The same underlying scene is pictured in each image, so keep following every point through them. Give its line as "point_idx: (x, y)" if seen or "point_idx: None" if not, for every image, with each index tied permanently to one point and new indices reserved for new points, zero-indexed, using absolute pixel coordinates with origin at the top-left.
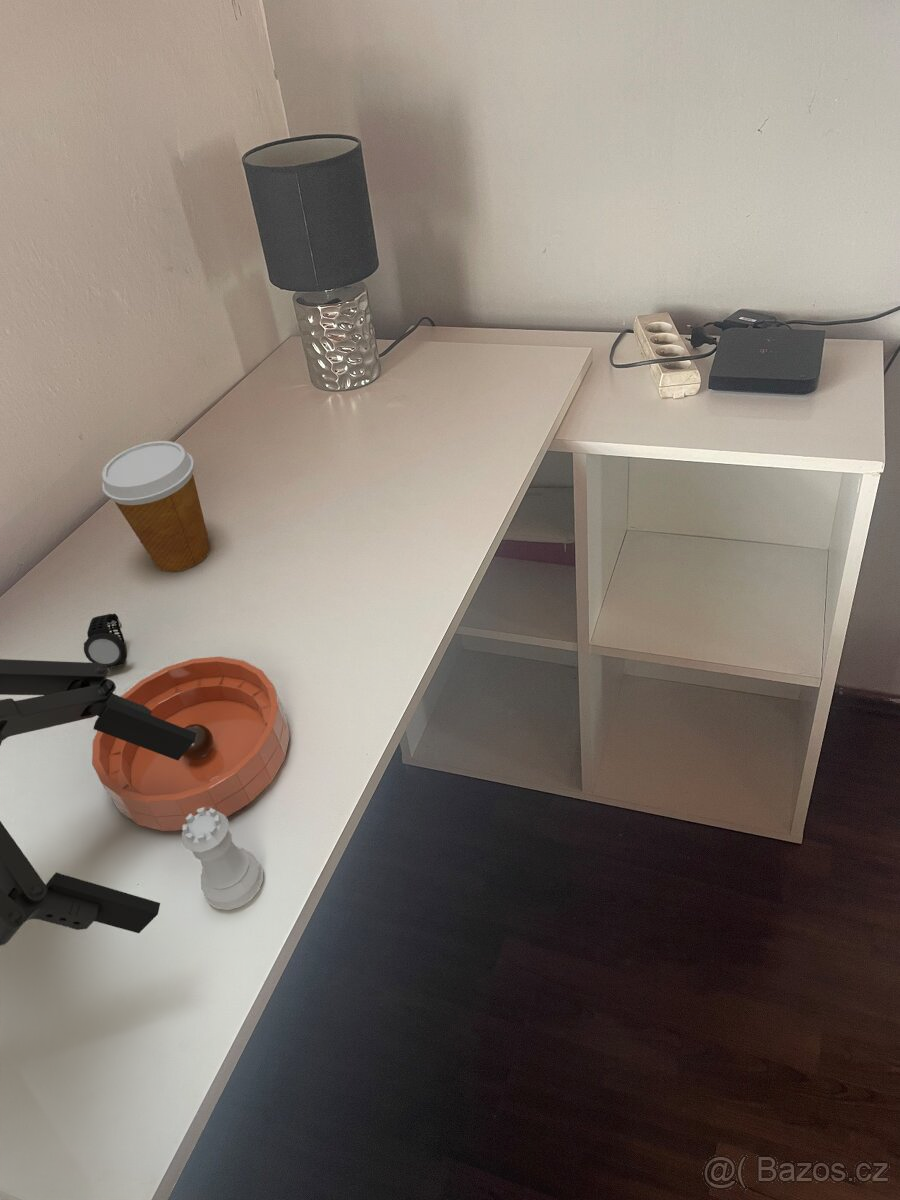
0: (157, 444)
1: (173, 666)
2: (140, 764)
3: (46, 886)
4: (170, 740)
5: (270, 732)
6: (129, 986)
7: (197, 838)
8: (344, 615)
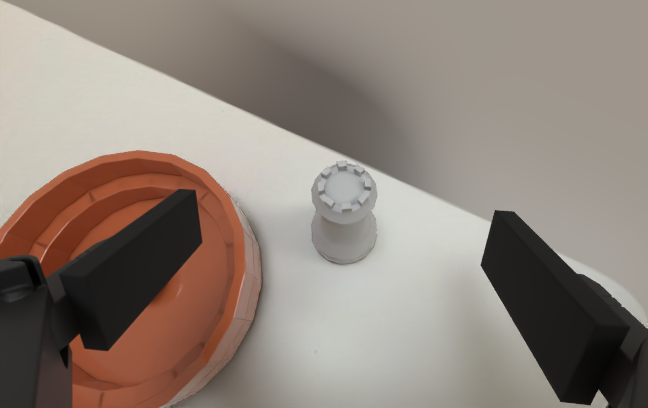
0: None
1: None
2: (127, 369)
3: (591, 363)
4: (182, 222)
5: (179, 157)
6: (447, 345)
7: (370, 187)
8: (12, 126)
